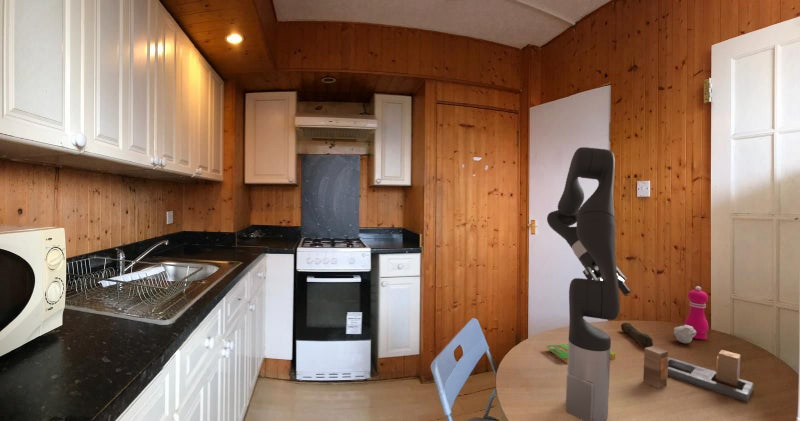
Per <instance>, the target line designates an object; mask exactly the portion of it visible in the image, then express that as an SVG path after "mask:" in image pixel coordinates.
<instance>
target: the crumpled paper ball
mask: <svg viewBox="0 0 800 421" xmlns="http://www.w3.org/2000/svg"><path fill="white" fill-rule="evenodd" d="M673 334H674V336H675V338H676V340H677V341H678V342H680V343H682V344H689V343H691V342H692V340H693V339H694V338H693V337H694V336H695V335H696V331H695V330H694V328H693V327H692V326H689V325H685V324H684V325H680V326H675V327H674V328H673Z"/></svg>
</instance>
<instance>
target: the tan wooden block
mask: <svg viewBox="0 0 800 421" xmlns="http://www.w3.org/2000/svg"><path fill="white" fill-rule="evenodd" d="M643 357H644V358H643V360H644V361H643V377H642V378H643V380H642V381H643V383H646V384H647V385H650V386H652V387H654V388H656V389H660V388H664V387H667V385H668V357H669V350H666V349H663V348H660V347H658V346H654V345H653V346H651V347H647V348H644V356H643Z"/></svg>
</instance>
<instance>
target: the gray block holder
mask: <svg viewBox="0 0 800 421" xmlns="http://www.w3.org/2000/svg"><path fill="white" fill-rule="evenodd" d="M715 367H716V368H715V370H712V369H710V368H706V367H702V366H699V365H696V364H693V363H689V362H686V361H683V360H680V359H677V358H674V357H673V358H672V357H669V356H668V375H669V377H673V378H675V379H678V380H681V381H683V382H687V383H689V384H692V385H695V386H698V387H701V388H704V389H707V390H710V391H712V392H716V393H719V394H723V395H725V396H728V397H731V398H733V399H737V400H739V401H743V402H745V403H747V402H748V401H749V399H750V396H751V394H752V392H753V390H754V382H751V381H748V380H745V379H741V378H740V372H741V353H740V354H739V353H736V352H731V351H728V350H724V349H721V350H720V351H719V352H718V355H717V357H716V366H715ZM676 368H677V369H676ZM688 371H689V372H688Z"/></svg>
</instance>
